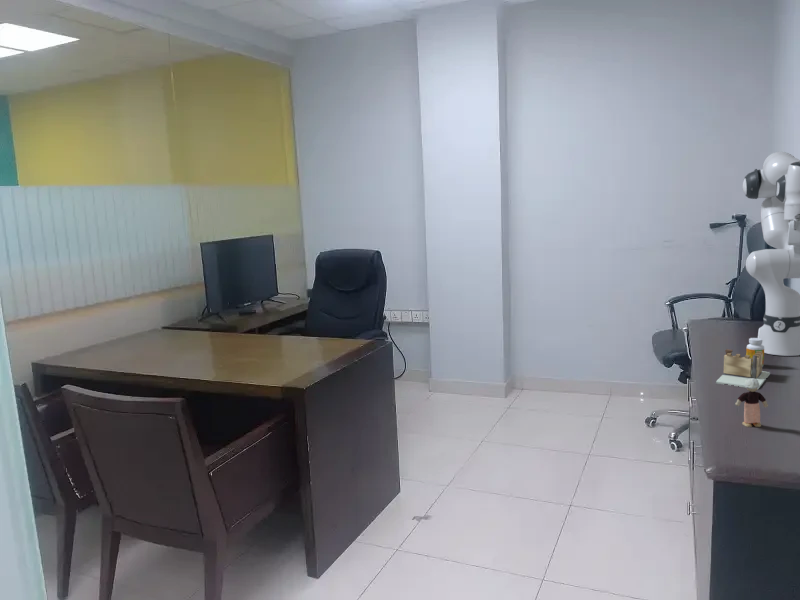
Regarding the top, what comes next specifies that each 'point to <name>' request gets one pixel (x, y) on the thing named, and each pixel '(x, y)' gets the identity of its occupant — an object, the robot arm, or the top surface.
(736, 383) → the card
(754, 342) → the supplement bottle
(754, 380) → the grandmother figurine
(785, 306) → the robot arm
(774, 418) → the top surface
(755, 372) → the fence fixed
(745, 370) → the notched wooden plank
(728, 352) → the corner post
